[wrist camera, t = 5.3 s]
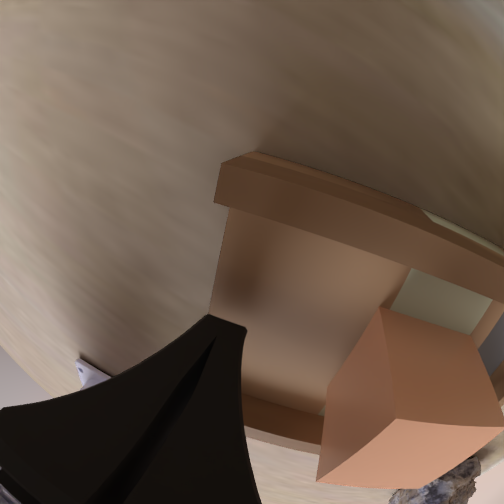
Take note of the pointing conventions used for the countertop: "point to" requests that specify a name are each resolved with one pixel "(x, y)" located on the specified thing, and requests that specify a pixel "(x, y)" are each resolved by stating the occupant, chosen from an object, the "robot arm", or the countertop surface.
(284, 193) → the channel
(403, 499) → the mineral specimen
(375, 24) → the countertop surface
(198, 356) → the robot arm
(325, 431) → the block
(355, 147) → the countertop surface
